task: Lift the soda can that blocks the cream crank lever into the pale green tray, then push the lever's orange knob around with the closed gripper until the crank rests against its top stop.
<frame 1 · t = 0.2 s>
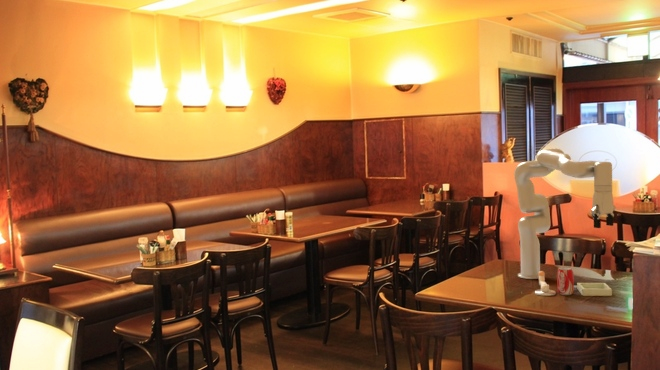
hand: (603, 226, 289), 31 cm above the table, tool pointing down, fingers open, 9 cm apart
tray: (593, 292, 293), on the table
crank: (543, 280, 299), point 5 cm above the table, hinge at 90.0°
soda can: (565, 294, 293), on the table
crank base: (545, 293, 294), on the table
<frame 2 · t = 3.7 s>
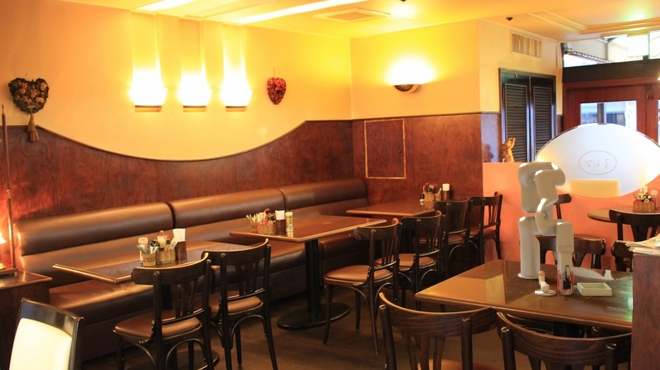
hand: (565, 286, 292), 3 cm above the table, tool pointing down, fingers closed on soda can, 6 cm apart
soda can: (565, 294, 293), on the table, touching gripper
everything else where it was.
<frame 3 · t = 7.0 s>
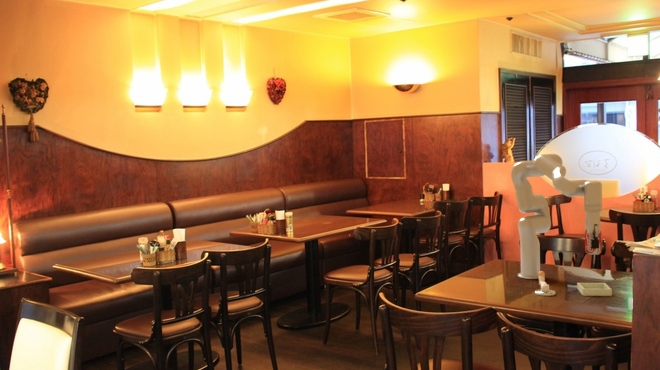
hand: (593, 246, 292), 21 cm above the table, tool pointing down, fingers closed on soda can, 6 cm apart
soda can: (593, 254, 292), point 18 cm above the table, touching gripper
everything else where it was.
when the fingers open (6 cm above the table, at t = 10.4 s): soda can drops 2 cm, resting on tray.
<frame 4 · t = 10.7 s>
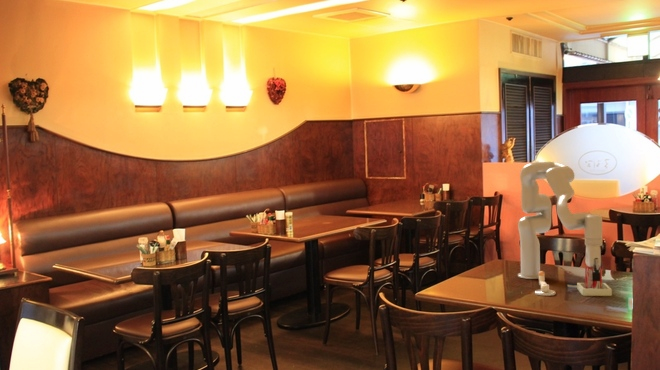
hand: (593, 278, 293), 6 cm above the table, tool pointing down, fingers open, 9 cm apart
soda can: (593, 291, 294), resting on tray
everything else where it was.
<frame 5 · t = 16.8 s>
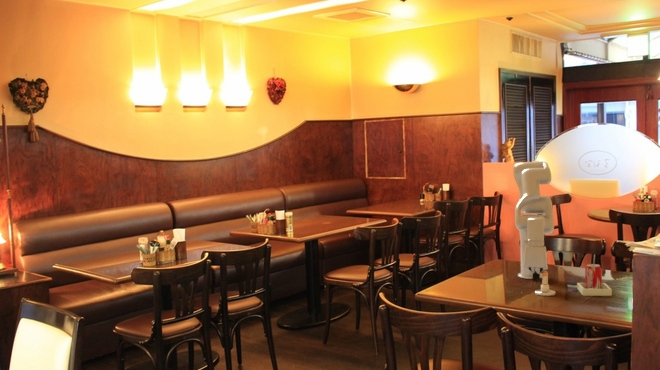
hand: (536, 280, 305), 4 cm above the table, tool pointing down, fingers closed
crank: (544, 280, 298), point 5 cm above the table, hinge at 81.7°, touching gripper
everything else where it was.
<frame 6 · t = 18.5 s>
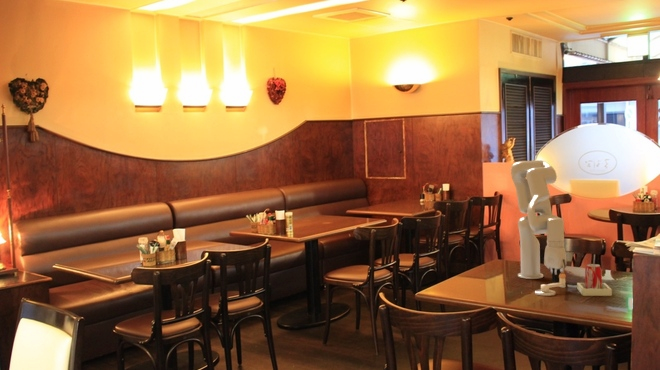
hand: (555, 282, 301), 4 cm above the table, tool pointing down, fingers closed
crank: (553, 282, 296), point 5 cm above the table, hinge at 31.2°, touching gripper
everything else where it was.
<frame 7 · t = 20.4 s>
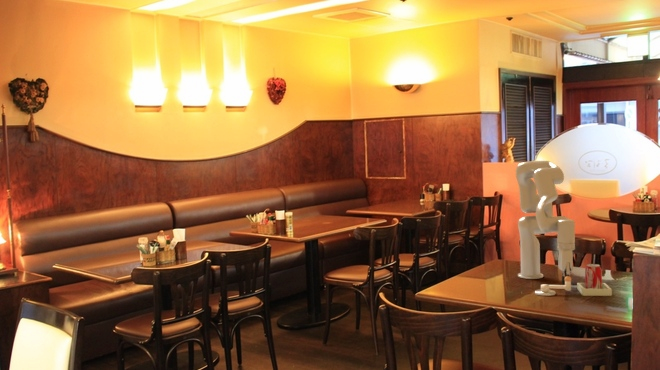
hand: (565, 284, 295), 4 cm above the table, tool pointing down, fingers closed
crank: (556, 283, 293), point 5 cm above the table, hinge at -5.0°, touching gripper
everything else where it was.
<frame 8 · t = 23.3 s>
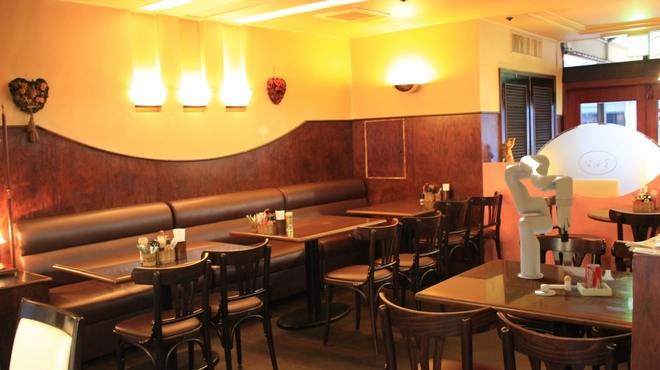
hand: (564, 241, 297), 23 cm above the table, tool pointing down, fingers closed
crank: (556, 283, 293), point 5 cm above the table, hinge at -1.9°
everything else where it was.
at the end: soda can 0.6 cm off-centre on the tray, point 0.4 cm above the tray's base; soda can tilted 0°; crank at -2° (first picture: +90°) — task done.
